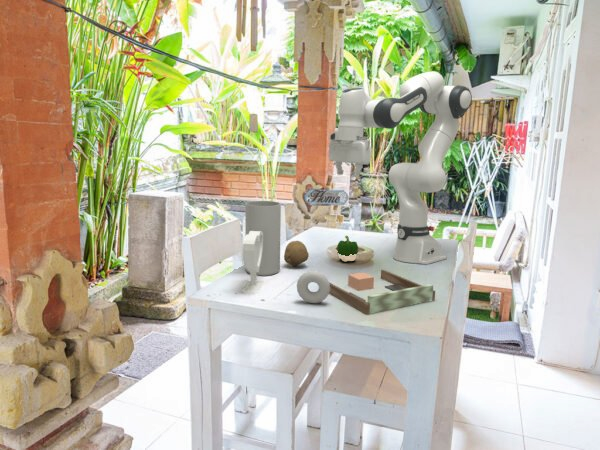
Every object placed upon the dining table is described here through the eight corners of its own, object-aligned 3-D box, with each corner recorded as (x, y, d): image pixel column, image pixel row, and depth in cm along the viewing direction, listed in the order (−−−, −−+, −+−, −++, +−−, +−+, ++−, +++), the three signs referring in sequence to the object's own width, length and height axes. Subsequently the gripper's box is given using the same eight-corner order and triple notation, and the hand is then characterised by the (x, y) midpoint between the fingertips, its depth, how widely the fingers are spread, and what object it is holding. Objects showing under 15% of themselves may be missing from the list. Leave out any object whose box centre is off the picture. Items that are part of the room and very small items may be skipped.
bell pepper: (356, 264, 179) (357, 239, 177) (335, 263, 181) (336, 238, 179) (358, 259, 187) (359, 235, 185) (338, 257, 189) (339, 234, 187)
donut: (295, 303, 137) (296, 271, 135) (297, 299, 140) (298, 268, 138) (328, 306, 135) (330, 273, 133) (330, 302, 139) (331, 270, 137)
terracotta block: (362, 283, 157) (363, 272, 157) (373, 288, 152) (373, 277, 151) (348, 285, 155) (348, 274, 154) (358, 291, 149) (358, 279, 149)
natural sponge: (312, 265, 177) (313, 240, 175) (300, 271, 169) (301, 244, 167) (292, 262, 181) (292, 237, 179) (280, 267, 174) (280, 241, 172)
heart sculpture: (256, 295, 143) (256, 238, 140) (240, 294, 144) (240, 238, 140) (265, 279, 159) (265, 228, 155) (250, 279, 159) (250, 228, 156)
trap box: (382, 277, 163) (383, 264, 162) (434, 300, 142) (435, 284, 141) (320, 288, 151) (320, 273, 150) (366, 314, 130) (367, 297, 129)
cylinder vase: (281, 275, 164) (282, 206, 159) (246, 276, 161) (246, 206, 157) (277, 265, 176) (278, 200, 171) (244, 266, 174) (244, 201, 169)
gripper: (376, 136, 153) (373, 178, 156) (340, 135, 170) (338, 173, 173) (361, 136, 150) (358, 178, 152) (326, 135, 167) (324, 173, 170)
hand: (347, 175), depth 163 cm, fingers open, 8 cm apart
